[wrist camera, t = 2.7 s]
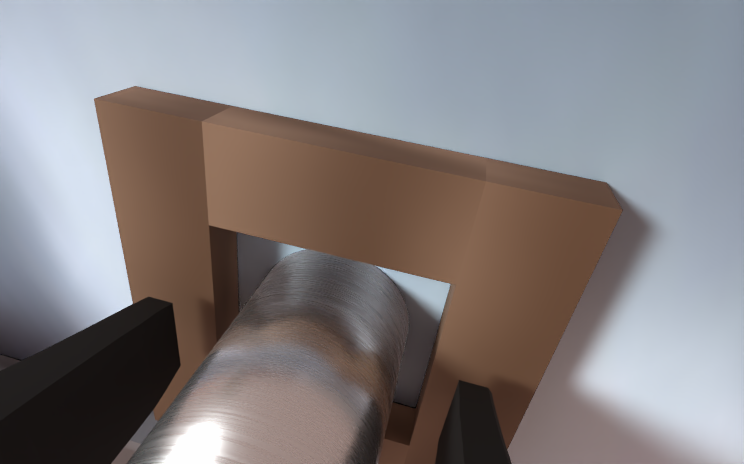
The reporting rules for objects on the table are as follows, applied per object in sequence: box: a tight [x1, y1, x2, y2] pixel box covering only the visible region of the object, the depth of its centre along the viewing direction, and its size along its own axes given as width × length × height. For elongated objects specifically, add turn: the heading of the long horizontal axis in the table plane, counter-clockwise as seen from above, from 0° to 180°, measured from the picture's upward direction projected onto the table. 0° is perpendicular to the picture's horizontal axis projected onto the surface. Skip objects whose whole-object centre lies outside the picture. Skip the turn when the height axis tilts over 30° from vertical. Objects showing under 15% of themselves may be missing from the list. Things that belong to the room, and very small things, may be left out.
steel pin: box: [127, 249, 409, 464], centre depth 9 cm, size 4×4×6 cm
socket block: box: [94, 86, 623, 464], centre depth 11 cm, size 10×10×1 cm
